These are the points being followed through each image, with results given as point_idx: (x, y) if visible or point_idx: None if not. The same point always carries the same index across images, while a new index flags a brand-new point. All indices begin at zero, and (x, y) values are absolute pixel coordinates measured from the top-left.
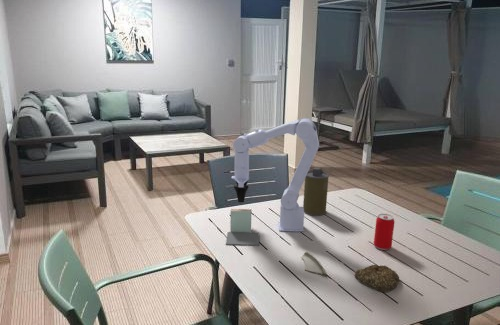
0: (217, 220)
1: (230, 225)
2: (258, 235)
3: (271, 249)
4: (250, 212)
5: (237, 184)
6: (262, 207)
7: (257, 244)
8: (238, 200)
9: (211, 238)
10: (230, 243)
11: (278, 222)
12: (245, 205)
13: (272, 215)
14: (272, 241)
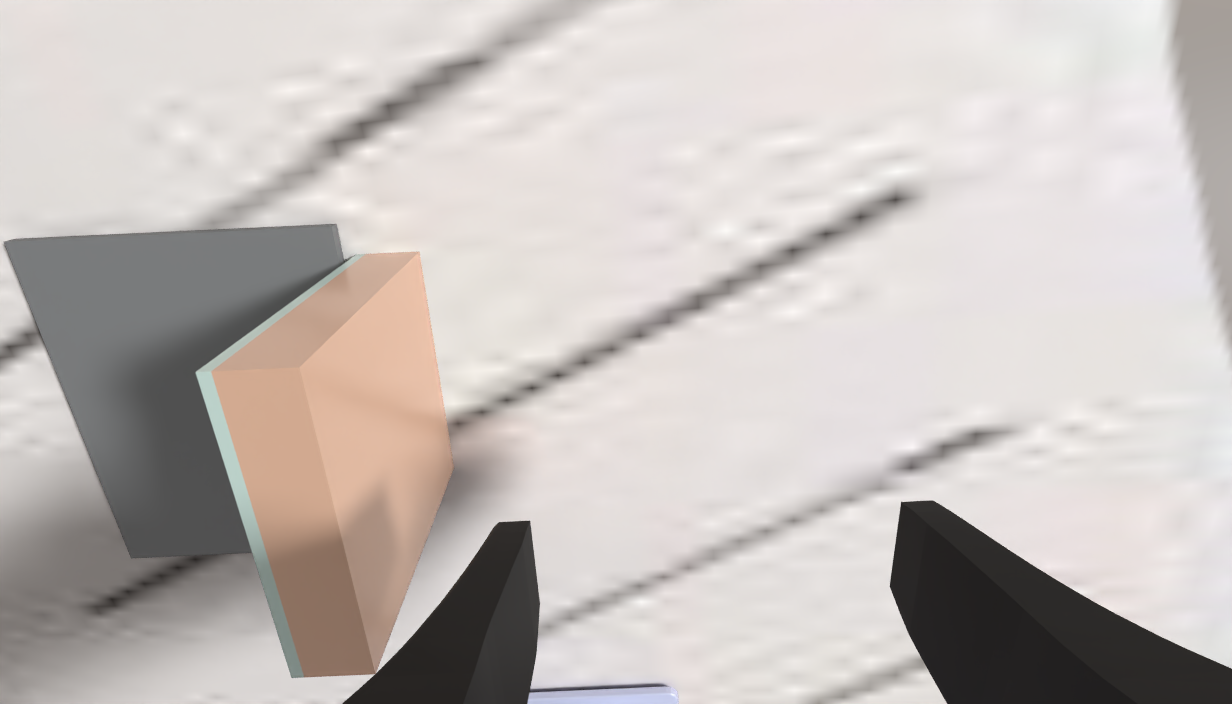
0: (711, 27)
1: (319, 282)
2: None
3: (108, 640)
4: (296, 650)
5: (1090, 687)
6: (1108, 547)
7: (126, 545)
8: (483, 550)
9: (109, 25)
10: (32, 292)
11: (659, 696)
12: (1218, 363)
13: (867, 637)
14: (267, 645)
